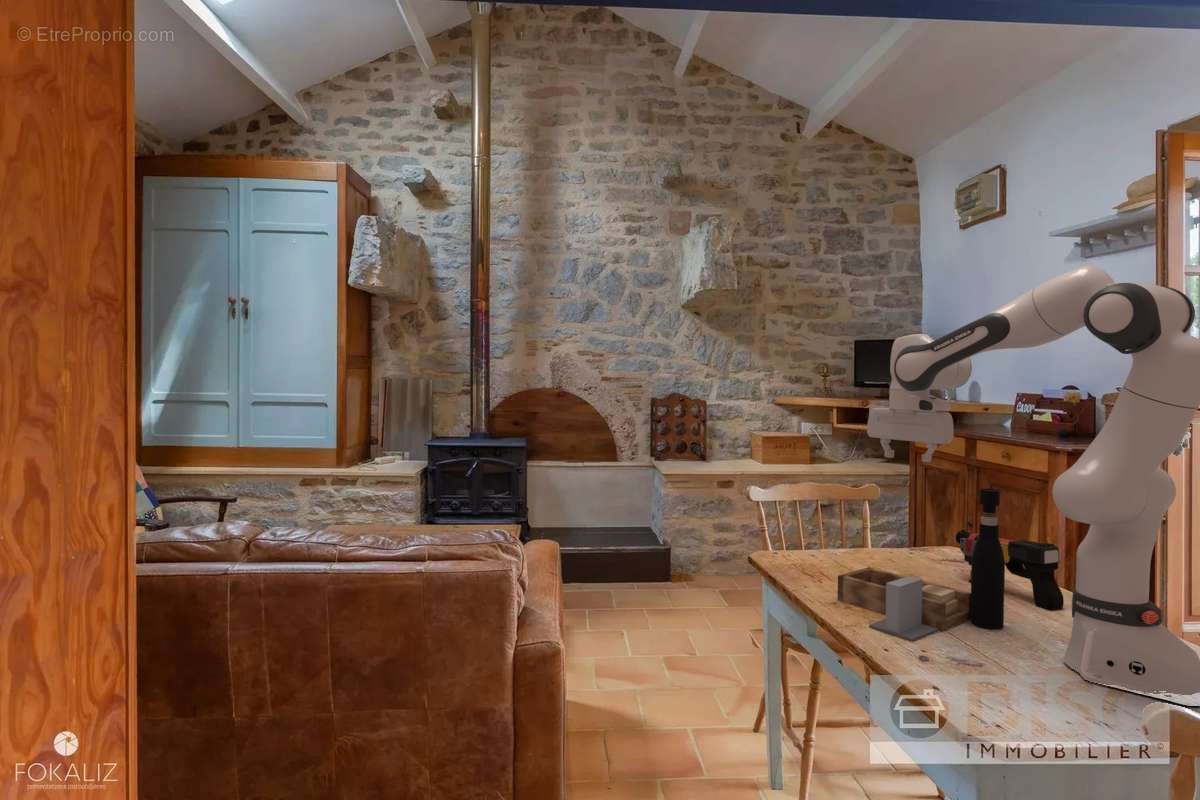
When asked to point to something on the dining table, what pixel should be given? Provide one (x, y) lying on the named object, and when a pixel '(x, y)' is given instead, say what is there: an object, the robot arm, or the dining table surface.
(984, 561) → the wine bottle
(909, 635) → the flat gray square tile
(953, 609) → the block
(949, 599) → the offcut top
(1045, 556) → the toy gun
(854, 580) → the wooden box
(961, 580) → the dining table surface
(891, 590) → the gray rectangular block
